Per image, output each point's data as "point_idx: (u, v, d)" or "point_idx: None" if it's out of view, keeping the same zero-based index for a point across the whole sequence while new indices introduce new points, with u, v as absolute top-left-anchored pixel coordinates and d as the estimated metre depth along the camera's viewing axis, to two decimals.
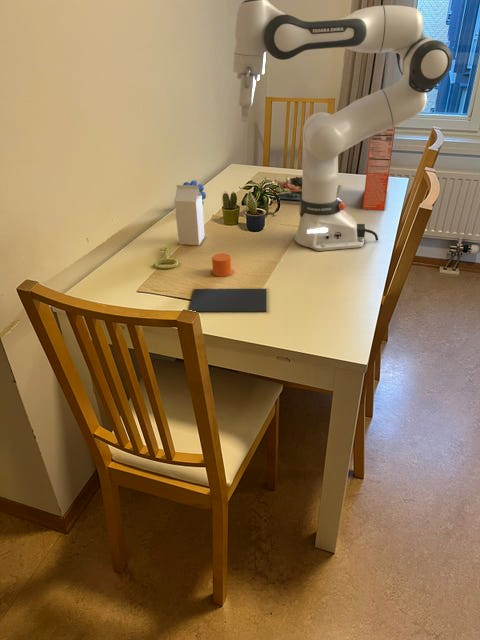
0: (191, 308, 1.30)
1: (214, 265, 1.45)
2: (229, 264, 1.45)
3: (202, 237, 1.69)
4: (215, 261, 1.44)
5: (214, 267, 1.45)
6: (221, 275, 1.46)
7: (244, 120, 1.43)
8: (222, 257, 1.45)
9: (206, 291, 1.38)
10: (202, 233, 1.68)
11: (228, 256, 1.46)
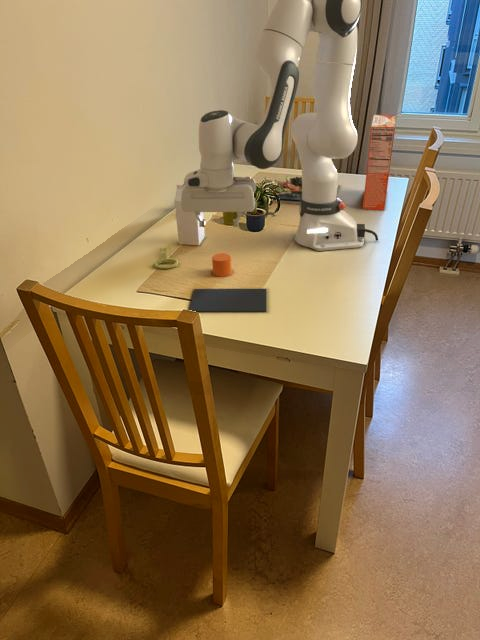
0: (191, 308, 1.30)
1: (214, 265, 1.45)
2: (229, 264, 1.45)
3: (202, 237, 1.69)
4: (215, 261, 1.44)
5: (214, 267, 1.45)
6: (221, 275, 1.46)
7: (238, 225, 1.40)
8: (222, 257, 1.45)
9: (206, 291, 1.38)
10: (202, 233, 1.68)
11: (228, 256, 1.46)
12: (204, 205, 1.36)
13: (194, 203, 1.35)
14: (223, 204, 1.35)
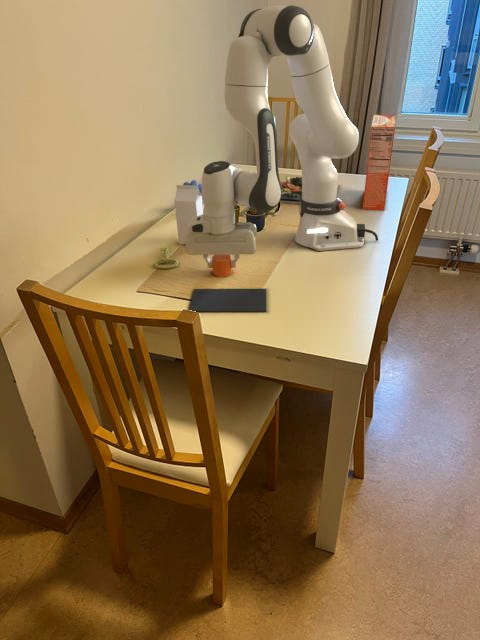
0: (191, 308, 1.30)
1: (214, 265, 1.45)
2: (229, 264, 1.45)
3: None
4: (215, 261, 1.44)
5: (214, 267, 1.45)
6: (221, 275, 1.46)
7: (235, 266, 1.47)
8: (222, 257, 1.45)
9: (206, 291, 1.38)
10: None
11: (228, 256, 1.46)
12: (208, 248, 1.42)
13: (198, 247, 1.42)
14: (225, 247, 1.42)
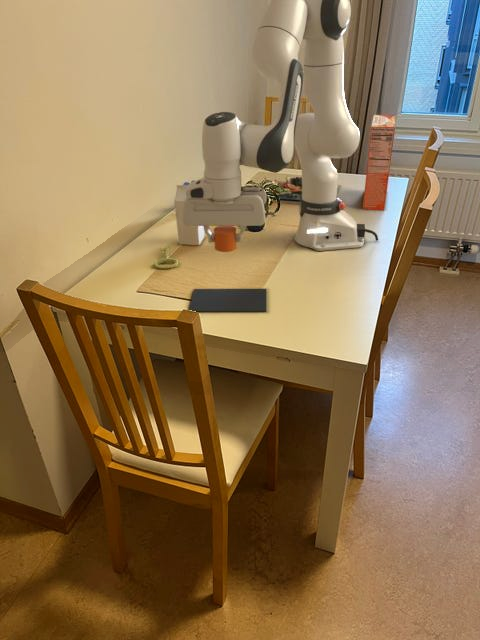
0: (191, 308, 1.30)
1: (216, 238, 1.24)
2: (234, 237, 1.24)
3: (202, 237, 1.69)
4: (217, 233, 1.23)
5: (216, 241, 1.24)
6: (224, 250, 1.24)
7: (241, 240, 1.26)
8: (226, 229, 1.24)
9: (206, 291, 1.38)
10: (202, 233, 1.68)
11: (233, 228, 1.24)
12: (209, 218, 1.21)
13: (197, 216, 1.21)
14: (230, 217, 1.21)
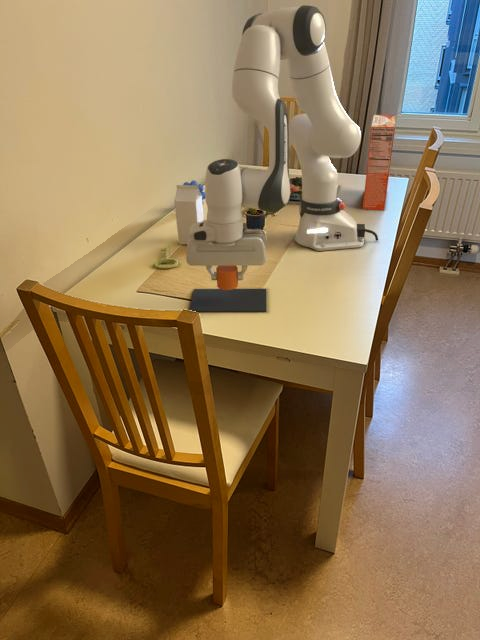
0: (191, 308, 1.30)
1: (219, 277, 1.28)
2: (236, 276, 1.28)
3: None
4: (220, 273, 1.27)
5: (219, 279, 1.28)
6: (226, 289, 1.29)
7: None
8: (228, 268, 1.28)
9: (206, 291, 1.38)
10: None
11: (234, 267, 1.29)
12: (211, 258, 1.25)
13: (200, 256, 1.25)
14: (232, 257, 1.25)
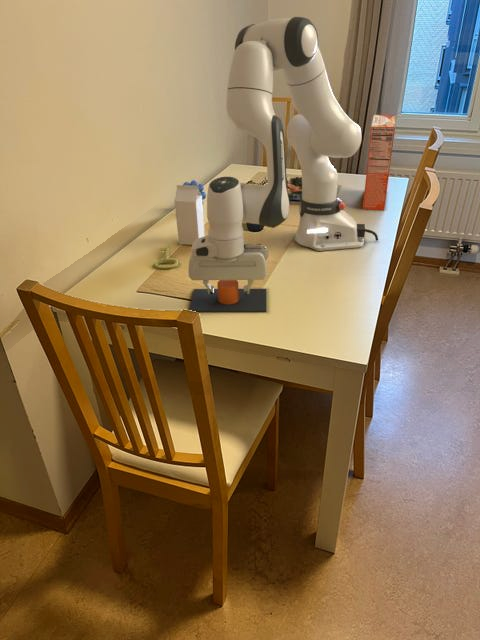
0: (191, 308, 1.30)
1: (220, 292, 1.30)
2: (236, 291, 1.30)
3: None
4: (221, 288, 1.29)
5: (220, 294, 1.31)
6: (227, 303, 1.31)
7: None
8: (229, 283, 1.30)
9: (206, 291, 1.38)
10: (202, 233, 1.68)
11: (235, 282, 1.31)
12: (213, 273, 1.28)
13: (202, 271, 1.27)
14: (233, 272, 1.27)
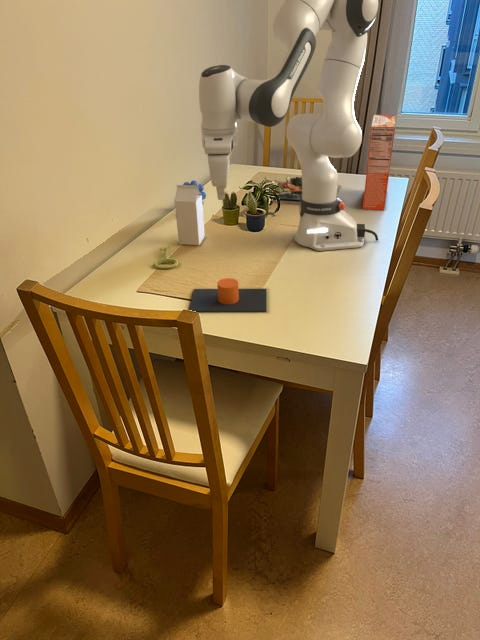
0: (191, 308, 1.30)
1: (220, 292, 1.30)
2: (236, 291, 1.30)
3: (202, 237, 1.69)
4: (221, 288, 1.29)
5: (220, 294, 1.31)
6: (227, 303, 1.31)
7: None
8: (229, 283, 1.30)
9: (206, 291, 1.38)
10: (202, 233, 1.68)
11: (235, 282, 1.31)
12: None
13: None
14: None
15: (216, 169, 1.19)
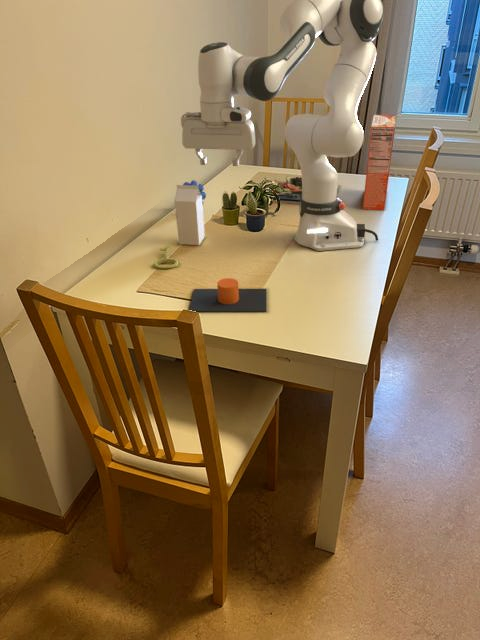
0: (191, 308, 1.30)
1: (220, 292, 1.30)
2: (236, 291, 1.30)
3: (202, 237, 1.69)
4: (221, 288, 1.29)
5: (220, 294, 1.31)
6: (227, 303, 1.31)
7: None
8: (229, 283, 1.30)
9: (206, 291, 1.38)
10: (202, 233, 1.68)
11: (235, 282, 1.31)
12: None
13: None
14: None
15: (252, 132, 1.33)
